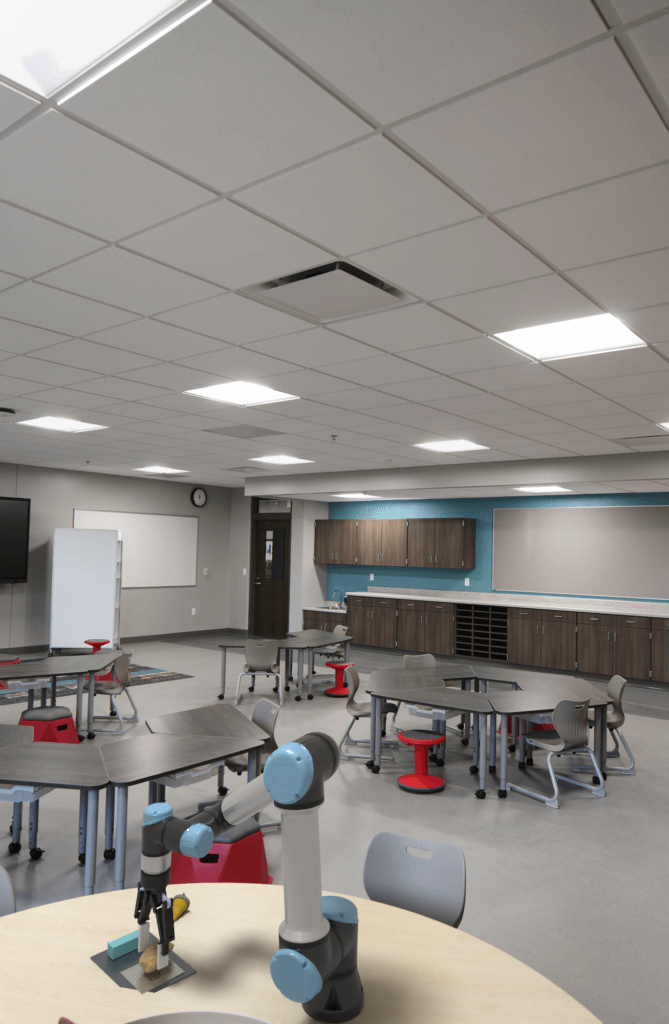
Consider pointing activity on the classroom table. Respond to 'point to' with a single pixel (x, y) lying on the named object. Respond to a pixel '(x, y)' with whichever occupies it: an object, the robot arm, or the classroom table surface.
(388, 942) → the classroom table surface
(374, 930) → the classroom table surface
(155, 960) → the stone tool
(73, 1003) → the classroom table surface
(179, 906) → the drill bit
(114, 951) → the bar
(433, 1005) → the classroom table surface
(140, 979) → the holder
